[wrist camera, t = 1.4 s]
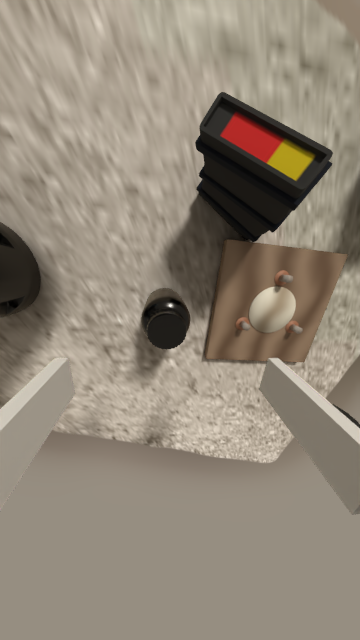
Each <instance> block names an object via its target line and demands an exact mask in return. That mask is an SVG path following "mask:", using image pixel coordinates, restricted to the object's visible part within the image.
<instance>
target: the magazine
mask: <svg viewBox="0 0 360 640" xmlns="http://www.w3.org/2000/svg"><path fill="white" fill-rule="evenodd" d="M195 144H196V149H197V150H198V151H199V152H201V153H203V155H204V162H205V163H204V167H203V168H202V170H201V171H200V173H199V176H200V177H201V178H202V181H201V182H200V184H199V185H198V187H197V191H199V194H200V195H201V196H202V197H203V198H204V199H205V200H206V201H207V202H208V203H209V204H210V205H211V206H212V207H213V208H214V209H215V210H216V211H217V212H218V213H219V214H220V215H221V216H222V217H223V218H224V219H225V220H226V221H227V222H228V223H229V224H230V225H231V226H232V227H233V228H234V229H235V230H236V231H237V232H238V233H239V234H240V235H241V236H242V237H243V238H244V239H245V240H248V239H250V240H251V241H252V242H255V241H257V240H258V238H259V237H260V236H261V235H262V234H264V233H266V232H267V231H269V230H270V231H271V232H274V231H275V230H277V228H278V227H279V226H280V225H281V224H282V222H283V221H284V220H285V219H286V217H287V216H288V215H289V214H290V213H291V211H292V210H293V211H294V210H295V209H296V208H297V207H298V205H299V204H300V203H301V202H302V201H303V199H304V198H305V197H306V196H307V195H308V193H309V192H310V191H311V190H312V189H313V187H314V186H315V185H316V184H317V183H318V181H319V180H320V179H321V178H322V177H323V175H324V174H325V173H326V172H327V171H328V169H329V168H330V167H331V165H332V163H331V162H329V160H330V158H331V157H332V154H333V152H332V151H331V150H330V149H328V148H326V147H324V146H322V145H321V144H319V143H317V142H315V141H313V140H311V139H310V138H308V137H306V136H304V135H302V134H300V133H298V132H297V131H295V130H293V129H291V128H289V127H287V126H285V125H284V124H282V123H280V122H278V121H276V120H274V119H273V118H271V117H269V116H267V115H265V114H263V113H261V112H260V111H258V110H256V109H254V108H252V107H250V106H249V105H247V104H245V103H243V102H241V101H239V100H237V99H236V98H234V97H232V96H230V95H228V94H226V93H225V92H221V93H220V94H219V95H218V96H217V98H216V99H215V101H214V103H213V104H212V106H211V108H210V109H209V111H208V112H207V114H206V116H205V117H204V119H203V121H202V122H201V124H200V136H199V137H198V139H197V141H196V142H195Z"/></svg>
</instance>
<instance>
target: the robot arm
mask: <svg viewBox="0 0 360 640" xmlns="http://www.w3.org/2000/svg"><path fill="white" fill-rule="evenodd" d="M39 288H40V273H39V268H38V265H37V262H36V260H35V258H34V256H33V254H32V252H31V250H30V249H29V248H28V246H27V245H26V244H25V242H24V241H23V240H22V239H21V238H20V237H19V236H18V235H17V234H16V233H15V232H14V231H13V230H11V229H10V228H9V227H7V226H6V225H4V224H3V223H1V222H0V317H4V316H8V315H11V314H13V313H16V312H19V311H21V310H23V309H25V308H27V307H28V306H29V305H30V304H31V303H32V302H33V301H34V300H35V298H36V296H37V294H38V292H39ZM259 390H260V391H261V392H262V394H263V395H264V396H265V398H266V399H267V400H268V402H269V403H270V404H271V406H272V407H273V409H274V410H275V411H276V413H277V414H278V415H279V417H280V418H281V419H282V421H283V422H284V423H285V425H286V426H287V427H288V429H289V430H290V432H291V433H292V434H293V436H294V437H295V438H296V440H297V441H298V442H299V444H300V445H301V446H302V448H303V449H304V450H305V452H306V453H307V455H308V456H309V457H310V458H311V460H312V461H313V463H314V464H315V465H316V467H317V468H318V469H319V471H320V472H321V473H322V475H323V476H324V477H325V479H326V480H327V482H328V483H329V484H330V486H331V487H332V488H333V490H334V491H335V492H336V494H337V495H338V496H339V498H340V499H341V500H342V502H343V503H344V505H345V506H346V507H347V509H348V510H349V511H350V512H351V514H352V515H354V514H360V424H359V423H358V422H357V421H356V420H355V419H353V417H351V416H350V415H349V414H348V413H346V412H345V411H343V410H341V409H340V408H338V407H337V406H335V405H333V404H331V403H329V402H328V401H327V400H326V399H325V398H324V397H323V396H322V395H320V394H319V393H318V392H317V391H316V390H315V389H313V388H312V387H311V386H310V385H309V384H308V383H306V382H305V381H304V380H303V379H302V378H301V377H300V376H298V375H297V374H296V373H295V372H294V371H293V370H291V369H290V368H289V367H288V366H287V365H286V364H284V363H283V362H282V361H281V360H280V359H279V358H268V360H267V364H266V367H265V371H264V374H263V377H262V381H261V384H260V388H259ZM74 395H75V389H74V383H73V378H72V373H71V368H70V362H69V358H54V359H53V360H52V361H51V362H50V363H49V364H48V365H47V366H46V367H45V368H44V369H43V370H42V371H41V372H39V373H38V374H37V375H36V376H35V377H34V378H33V379H32V380H31V381H30V382H29V383H28V384H27V385H26V386H25V387H23V388H22V389H21V390H20V391H19V392H18V393H17V394H16V395H15V396H14V397H13V398H12V399H11V400H10V401H8V402H7V403H6V404H5V405H4V406H3V407H2V408H1V409H0V510H1V508H2V507H3V506H4V504H5V503H6V501H7V499H8V498H9V496H10V495H11V493H12V491H13V490H14V488H15V487H16V485H17V484H18V482H19V481H20V479H21V477H22V476H23V474H24V473H25V471H26V470H27V468H28V467H29V465H30V463H31V462H32V460H33V459H34V457H35V456H36V454H37V452H38V451H39V449H40V448H41V446H42V445H43V443H44V442H45V440H46V438H47V437H48V435H49V434H50V432H51V431H52V429H53V427H54V426H55V424H56V423H57V421H58V420H59V418H60V417H61V415H62V413H63V412H64V410H65V409H66V407H67V406H68V404H69V402H70V401H71V399H72V398H73V396H74Z"/></svg>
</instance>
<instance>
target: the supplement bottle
mask: <svg viewBox="0 0 360 640" xmlns="http://www.w3.org/2000/svg"><path fill="white" fill-rule="evenodd" d="M141 323H142V327H143V330H144V332H145V333H146V335H147V336H148V339H149V340H150V342H152V344H153V345H155V346H156V347H158V348H161V349H171V348H175V347H177V346H178V345H180V344H181V343H182V342H183V340H184V339H185V337H186V333H187V331H188V329H189V325H190V314H189V311H188V309H187V307H186V305H185V303H184V302H183V300H182V298H181V297H180V295H179V294H178V293H177V292H175V291H174V290H172V289H168V288H161V289H158V290H156V291H154V292H153V293H151V295H150V296H149V297H148V299H147V301H146V304H145V307H144V310H143V313H142V317H141Z"/></svg>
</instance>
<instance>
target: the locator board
mask: <svg viewBox="0 0 360 640" xmlns="http://www.w3.org/2000/svg"><path fill="white" fill-rule="evenodd" d="M347 256H348V254H340V253H332V252H324V251H316V250H308V249H300V248H292V247H285V246H277V245H269V244H261V243H253V242H245V241H237V240H229V239H227V240H224V245H223V251H222V257H221V262H220V268H219V274H218V280H217V286H216V291H215V297H214V303H213V309H212V315H211V321H210V326H209V332H208V338H207V344H206V350H205V357H206V359H230V360H258V361H267V360H268V358H279V359H280V360H281V361H286V362H304V361H305V359H306V356H307V354H308V351H309V349H310V347H311V344H312V342H313V339H314V337H315V334H316V332H317V330H318V327H319V325H320V322H321V320H322V317H323V315H324V312H325V310H326V308H327V305H328V303H329V300H330V298H331V295H332V293H333V290H334V288H335V286H336V283H337V281H338V278H339V276H340V273H341V271H342V268H343V266H344V264H345V261H346V259H347Z"/></svg>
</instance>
